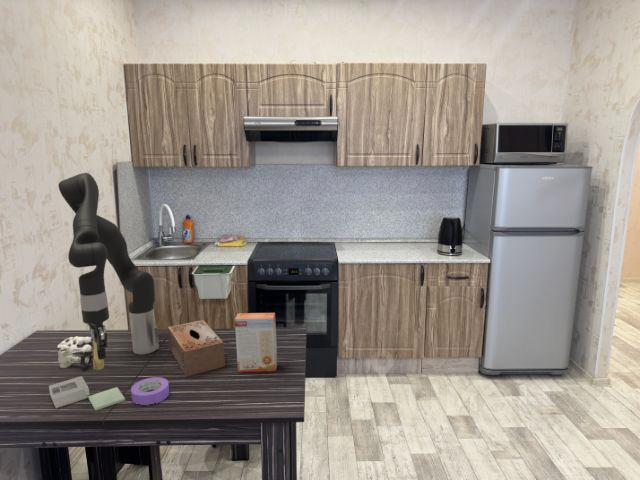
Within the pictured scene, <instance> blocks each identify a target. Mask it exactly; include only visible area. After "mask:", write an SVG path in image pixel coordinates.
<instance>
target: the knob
mask: <svg viewBox="0 0 640 480" xmlns="http://www.w3.org/2000/svg"><path fill="white" fill-rule="evenodd" d="M105 333H107V330H106V331H105ZM92 336H93V334H92ZM96 339H98V338H96ZM100 345H101V344H100ZM93 355H94V357H93V358H92V359H93V360H92V361H93V363H92V364H93V366H92V367H93V370H102V369H104V367H105V359H101V360H99V359H98V354H97V348H96V342H94V344H93Z"/></svg>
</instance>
